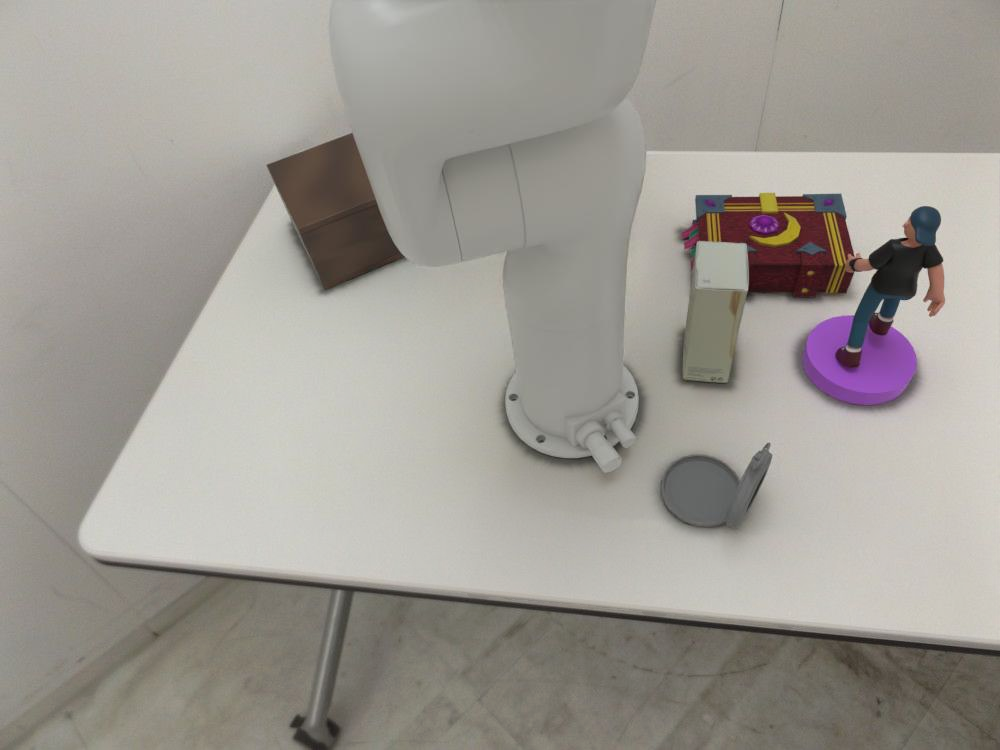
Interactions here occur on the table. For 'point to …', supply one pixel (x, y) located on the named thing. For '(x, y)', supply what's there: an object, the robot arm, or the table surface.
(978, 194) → the table surface
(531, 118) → the robot arm
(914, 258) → the figurine
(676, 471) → the pocket watch
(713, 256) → the cosmetic box
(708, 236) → the decorative book
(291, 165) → the cabinet
